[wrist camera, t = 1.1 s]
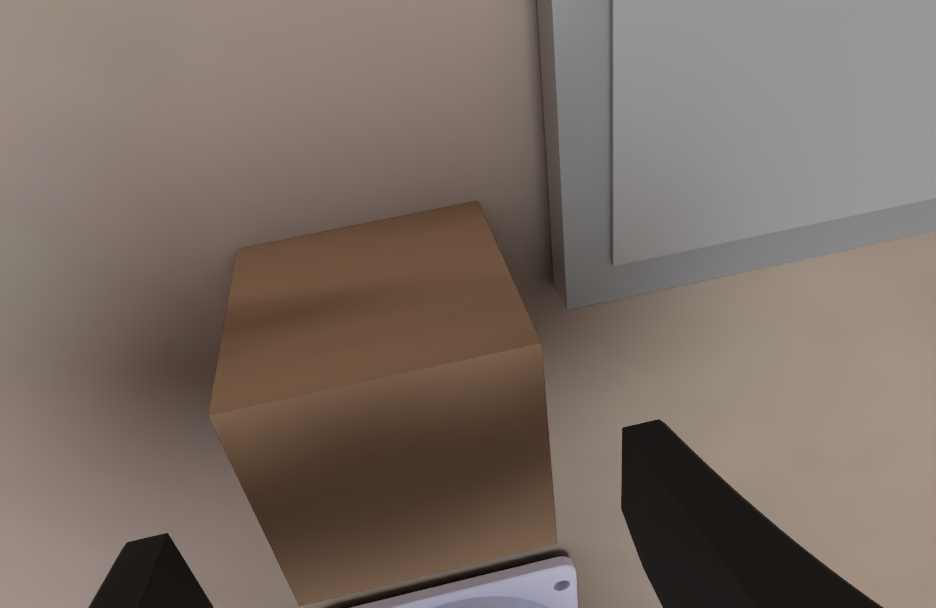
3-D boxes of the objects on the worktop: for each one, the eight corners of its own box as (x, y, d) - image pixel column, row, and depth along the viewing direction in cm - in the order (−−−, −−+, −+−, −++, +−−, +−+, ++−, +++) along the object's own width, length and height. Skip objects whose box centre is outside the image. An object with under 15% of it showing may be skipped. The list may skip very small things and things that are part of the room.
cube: (499, 376, 17) (557, 543, 13) (301, 420, 17) (299, 606, 13) (477, 199, 15) (541, 343, 10) (237, 246, 14) (208, 415, 10)
